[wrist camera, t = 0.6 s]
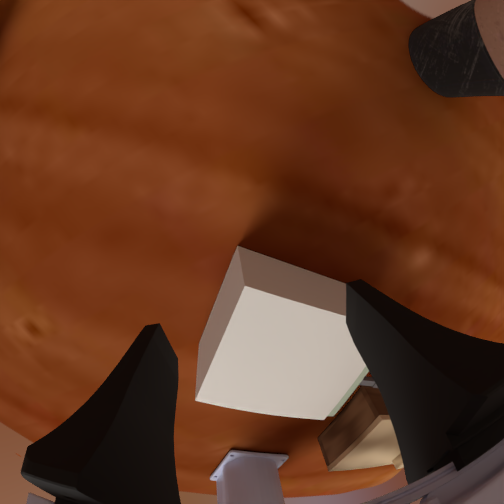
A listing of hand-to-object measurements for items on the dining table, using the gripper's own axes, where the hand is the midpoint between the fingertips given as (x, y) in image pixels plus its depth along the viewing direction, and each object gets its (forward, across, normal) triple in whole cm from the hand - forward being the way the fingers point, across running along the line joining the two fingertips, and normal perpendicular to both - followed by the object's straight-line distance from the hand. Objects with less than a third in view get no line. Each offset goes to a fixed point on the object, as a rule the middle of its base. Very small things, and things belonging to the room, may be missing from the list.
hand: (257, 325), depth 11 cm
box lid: (+3, -11, +27) cm, 29 cm away
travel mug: (+13, -20, -11) cm, 26 cm away
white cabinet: (+10, -1, +8) cm, 13 cm away
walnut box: (+7, -11, +27) cm, 30 cm away
